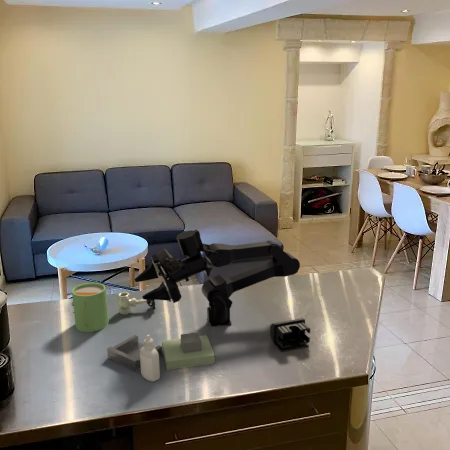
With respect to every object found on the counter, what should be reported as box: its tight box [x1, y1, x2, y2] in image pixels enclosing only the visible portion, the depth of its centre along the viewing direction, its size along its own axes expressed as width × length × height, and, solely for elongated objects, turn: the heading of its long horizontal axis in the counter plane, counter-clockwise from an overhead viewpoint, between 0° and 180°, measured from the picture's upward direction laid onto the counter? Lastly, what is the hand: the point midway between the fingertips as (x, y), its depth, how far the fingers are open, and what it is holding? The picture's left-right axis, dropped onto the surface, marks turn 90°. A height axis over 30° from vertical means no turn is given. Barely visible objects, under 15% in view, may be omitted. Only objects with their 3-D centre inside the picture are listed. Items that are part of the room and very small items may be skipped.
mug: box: [71, 282, 109, 333], centre depth 152 cm, size 13×10×12 cm
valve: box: [117, 291, 156, 315], centre depth 162 cm, size 7×7×12 cm
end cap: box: [269, 317, 311, 353], centre depth 141 cm, size 10×7×7 cm
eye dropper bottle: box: [140, 334, 161, 383], centre depth 125 cm, size 4×6×12 cm
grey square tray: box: [106, 334, 164, 372], centre depth 136 cm, size 10×11×3 cm
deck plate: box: [161, 332, 216, 371], centre depth 136 cm, size 13×11×6 cm
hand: (138, 289), depth 143 cm, fingers open, 9 cm apart
